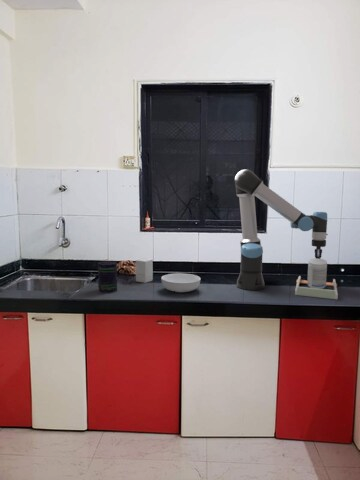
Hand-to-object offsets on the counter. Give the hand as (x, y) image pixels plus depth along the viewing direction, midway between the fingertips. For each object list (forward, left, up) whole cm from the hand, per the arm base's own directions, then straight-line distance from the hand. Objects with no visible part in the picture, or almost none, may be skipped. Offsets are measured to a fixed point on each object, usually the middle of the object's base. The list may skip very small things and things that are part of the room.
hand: (316, 280), depth 202 cm
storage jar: (-102, -58, -3) cm, 118 cm away
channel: (0, -10, -3) cm, 11 cm away
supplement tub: (0, -7, -2) cm, 7 cm away
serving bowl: (-67, -42, -3) cm, 79 cm away
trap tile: (0, +3, -3) cm, 4 cm away
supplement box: (-94, -32, -3) cm, 100 cm away
